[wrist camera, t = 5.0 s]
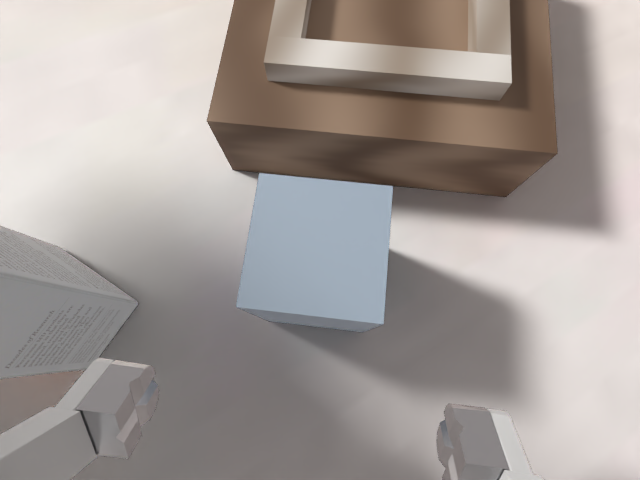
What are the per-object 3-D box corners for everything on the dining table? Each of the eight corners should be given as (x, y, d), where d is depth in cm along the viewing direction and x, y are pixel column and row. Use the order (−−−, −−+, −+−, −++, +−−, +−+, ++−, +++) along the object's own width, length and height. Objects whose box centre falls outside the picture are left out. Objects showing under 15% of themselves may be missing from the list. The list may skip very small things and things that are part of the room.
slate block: (269, 321, 20) (235, 306, 13) (282, 231, 21) (259, 173, 14) (363, 332, 20) (383, 324, 12) (370, 241, 21) (393, 186, 14)
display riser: (232, 169, 22) (198, 104, 16) (273, -34, 27) (257, -144, 21) (506, 196, 21) (574, 139, 16) (501, -18, 26) (554, -127, 20)
